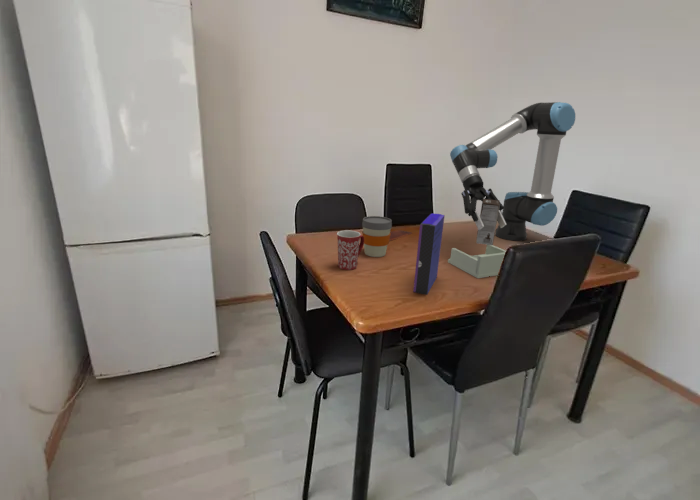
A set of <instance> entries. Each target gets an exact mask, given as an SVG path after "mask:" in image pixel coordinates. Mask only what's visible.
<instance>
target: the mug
mask: <svg viewBox="0 0 700 500" xmlns="http://www.w3.org/2000/svg"><path fill="white" fill-rule="evenodd" d="M336 236H337V237H336V238H337V264H338V265H337V266H338V268H339V269H340V270H345V271H351V270H354V269H357V267H358V260H359V256H360V254H361V252H362V250H363V247H364V237H363V236H362V233H360V232H359V231H355V230H349V229H345V230H339V231H337V233H336Z"/></svg>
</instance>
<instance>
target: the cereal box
mask: <svg viewBox="0 0 700 500" xmlns="http://www.w3.org/2000/svg"><path fill="white" fill-rule="evenodd" d="M444 222H445V214H440V213H430V214H429V215H428V216H427V217H426V218H425V219H424V220H423V221H421V223H420V225H419V232H418V243H417V253H416V261H415V262H416V263H415V271H414V272H415V273H414V282H413V289H412V290H413V291H412V292H413V293H416V294H420V295H426V296H428V294H429V292H430V291H431V289H432V288H433V285H434V283H435V282H436V280H437V278H438V272H439V264H440V263H439V262H440V255H441V248H442V247H441V246H442V242H443V241H442V239H443V232H444V225H445V224H444Z"/></svg>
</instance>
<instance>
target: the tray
mask: <svg viewBox="0 0 700 500" xmlns="http://www.w3.org/2000/svg"><path fill="white" fill-rule="evenodd" d="M506 251H507V250H506V249H503V248H500V247H498V246H497V245H494V244H493V245H486V247H485V253H482V254H474V255H471V254H468V253H466V252H464V251H462V250H461V249H460V250H459V249H458V248H456V247H452V248H451V251H450V258H448V259H447V263H448V264H450V265H452V266H454V267H456V268H457V269H459V270H461V271H463V272H465V273H467V274H469V275H471V276H473V277H474V278H476V279H481V278H488V277H489V276H490V277H495V276H499V275H498V272H499V269H500V266H501V263H502V261H503V258H504V255H505V252H506ZM490 277H489V278H490Z"/></svg>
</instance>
